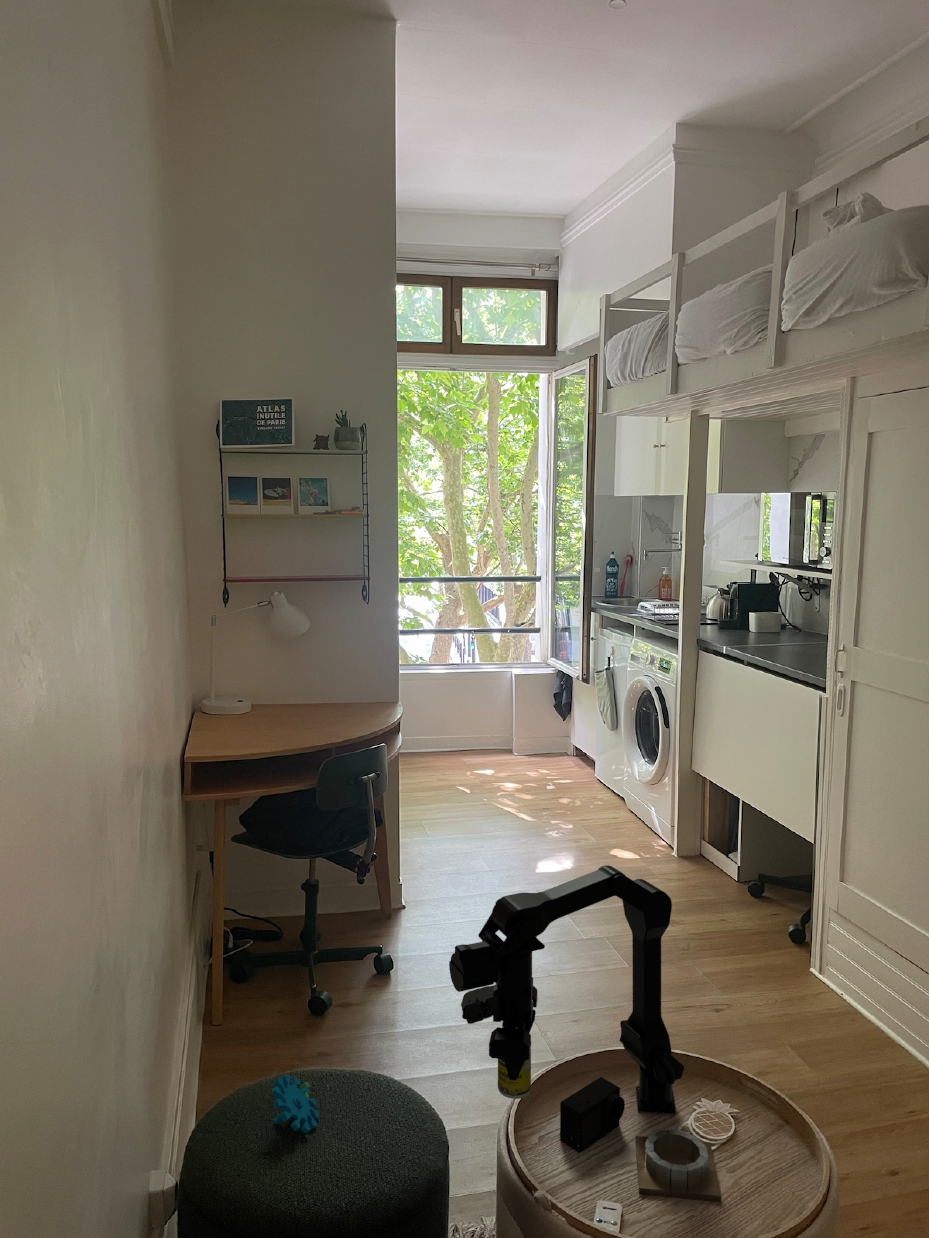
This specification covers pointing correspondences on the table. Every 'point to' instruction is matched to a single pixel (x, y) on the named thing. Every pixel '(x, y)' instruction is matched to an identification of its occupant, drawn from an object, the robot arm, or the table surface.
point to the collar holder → (676, 1166)
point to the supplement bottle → (514, 1087)
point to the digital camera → (590, 1114)
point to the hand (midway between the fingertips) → (514, 1069)
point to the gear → (295, 1104)
